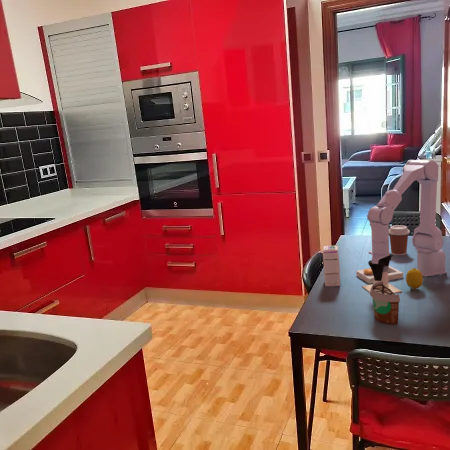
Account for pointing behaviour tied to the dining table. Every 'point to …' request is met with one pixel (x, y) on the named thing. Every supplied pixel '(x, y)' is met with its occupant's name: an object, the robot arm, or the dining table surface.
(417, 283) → the lemon
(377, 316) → the food container
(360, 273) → the beige flat frame
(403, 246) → the coffee cup
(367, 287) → the birch board
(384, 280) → the cylinder
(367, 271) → the orange dome button
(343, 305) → the dining table surface
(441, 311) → the dining table surface
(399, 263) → the dining table surface
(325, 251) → the syrup box
